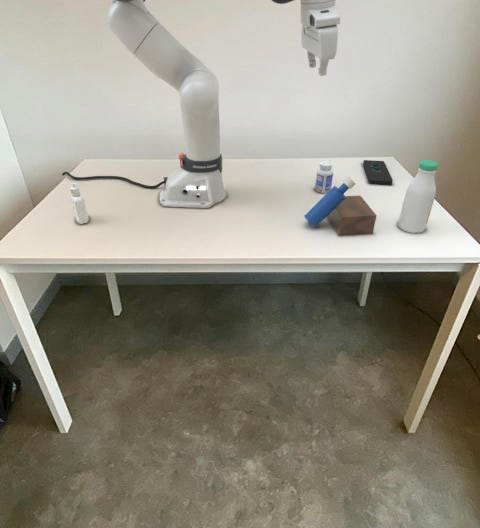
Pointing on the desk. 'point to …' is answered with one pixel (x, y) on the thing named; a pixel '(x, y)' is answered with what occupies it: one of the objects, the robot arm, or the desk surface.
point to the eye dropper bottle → (78, 205)
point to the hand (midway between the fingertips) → (317, 71)
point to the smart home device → (377, 172)
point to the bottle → (328, 203)
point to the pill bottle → (324, 177)
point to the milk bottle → (419, 198)
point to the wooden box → (353, 217)
